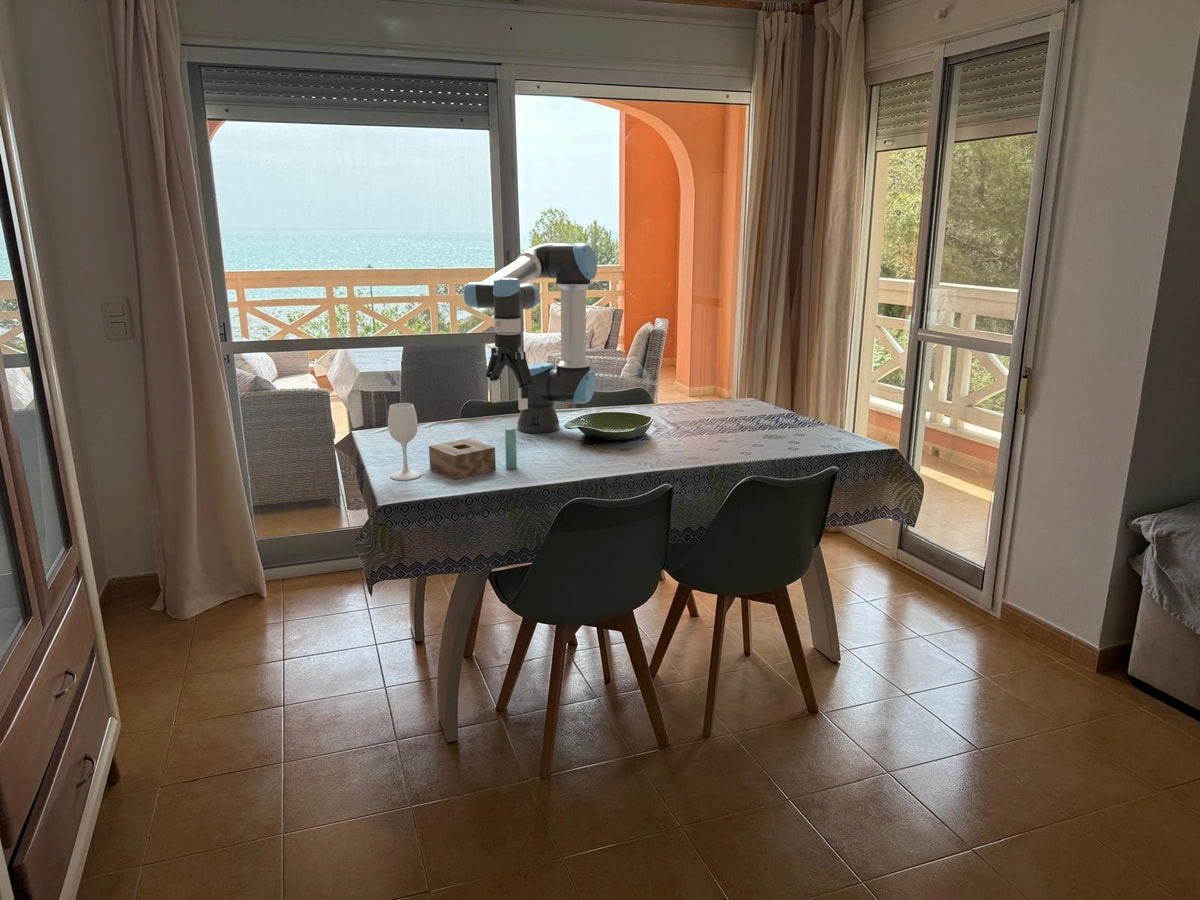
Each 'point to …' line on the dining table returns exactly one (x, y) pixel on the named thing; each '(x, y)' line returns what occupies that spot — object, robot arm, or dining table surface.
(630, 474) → the dining table surface
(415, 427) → the wineglass
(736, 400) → the dining table surface
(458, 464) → the socket block
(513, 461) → the dowel
